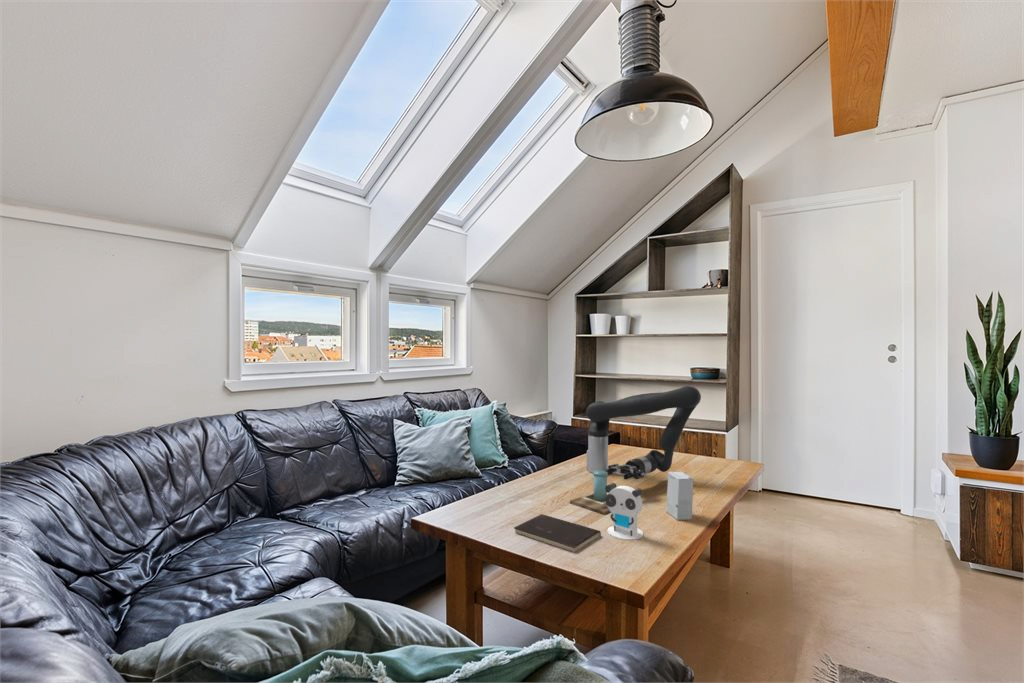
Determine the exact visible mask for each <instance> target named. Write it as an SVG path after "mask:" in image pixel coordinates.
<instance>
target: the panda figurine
mask: <svg viewBox="0 0 1024 683" xmlns="http://www.w3.org/2000/svg"><path fill="white" fill-rule="evenodd" d="M605 490H606V492H607V494H608V495H607V497H606V504H607V506H608V508H609V510H610V511H611V512H610V513H611V514H610V520H611V521H613V525H611V526H609V527H608V528H607V531H606V532H607V534H608V535H609V536H611V537H613V538H615V539H619V540H623V541H633V540H639V539H641V538H642V537H644V532H643V531H642V530H641V529H640V528H638V515H639V513H641V512H642V510H643V500H642V497H641V496H642V495H643V490H642V488H639V487H638V488H637V489H635V488H634V487H631V486H627V485H618V486H617V484H616V483H615V482H611V483H609V484H607V486H606V487H605Z"/></svg>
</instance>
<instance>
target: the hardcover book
mask: <svg viewBox="0 0 1024 683" xmlns="http://www.w3.org/2000/svg"><path fill="white" fill-rule="evenodd" d="M514 529H515V531H514V533H516V534H518V535H521V534H522V536H524V535H525V536H524V537H528V538H531V539H533V538H534V540H536V541H539V540H540V541H539V542H542V541H543V543H545V544H549V545H552V546H554V547H557V548H560V549H563V550H566V551H569V552H572V553H575V552H577V551H579V550H580V549H581V548H583V547H584V546H586V545H588V544H590V542H591V543H592V541H594V540H595V539H596V538H599V537H600V536H601V535H602V534H601V530H598V529H595V528H591V527H588V526H584V525H581V524H577V523H574V522H571V521H568V520H564V519H560V518H557V517H554V516H553V517H552V516H550V515H546V514H543V513H541V514H539V515H537V516H535V517H533V518H531V519H529V520H526V521H524V522H523V523H520V524H518V525H515V526H514V527H513V530H514Z"/></svg>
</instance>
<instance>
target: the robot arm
mask: <svg viewBox="0 0 1024 683" xmlns="http://www.w3.org/2000/svg"><path fill="white" fill-rule="evenodd" d="M701 399H702V395H701V392H700V390H698V389H697V388H696V387H694V386H691V385H688V386H687V385H685V386H682V387H680V388H675V389H673V390H672V389H671V390H669V391H664V392H649V393H641V394H634V395H632V396H631V395H630V396H627V397H624V398H621V399H619V400H615V401H608V402H604V401H602V400H597V401H594V402H592V403H590V404H589V405H588V406H587V408H586V410H585V414H586V417H587V419H588V420H590V423H589V424H590V425H589V428H588V433H587V435H588V441H587V442H588V446H587V448H588V449H587V450H586V471H588V472H589V473H592V474H593V472H594V471H597V470H600V471H606V472H608V476H609V475H612V474H613V475H614V474H616V475H623V479H624V480H629V479H635V480H639V479H641V478H644V477H645V476H646V475H647V474H650V473H653V472H654V471H655V472H656V470H658V471H660V472H662V473H665V472H669V470H670V469H671V466H672V464H673V456H674V451H675V448H676V446H677V444H678V441H679V439H680V437H681V435H682V433H683V431H684V428H685V425H686V423H687V422H688V419H689V418H690V416H691V414H692V413H693V411H694V410H695V408H696V407H697V406H698V404H700V402H701ZM667 409H668V410H669V409H675V411H674V413H673V415H672V416H671V419H670V420H669V421H668V423H667V425H666V426H665V428H664V430H663V432H662V435H661V436H660V439H659V441H658V446H659V447H660V448H661V449H662V450H663V452H664V453H663V452H661V451H659V450H656V449H651V450H650V451H649V453H647V454H646V455H645V456H642V457H641V456H640V457H636V458H633V459H629V460H627V461H626V463H625V464H622V465H621V464H620V465H619V463H614V464H611V465H609V430H610V420H611V419H613V418H614V419H615V418H623V417H627V418H628V417H634V416H635V417H636V416H643V415H649V414H654V413H657V412H660V411H664V410H667Z"/></svg>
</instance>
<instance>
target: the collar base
mask: <svg viewBox="0 0 1024 683" xmlns="http://www.w3.org/2000/svg"><path fill="white" fill-rule="evenodd" d="M607 495H608V493H607ZM569 504H571V505H575V506H577V507H580V508H583V509H586V510H589V511H592V512H595V513H597V514H601V515H606V514H610V513H611V511H610V510H609V508H608V506H607V504H606V501H604V502H602V503H601V502H598V501H595V500H593V492H591V493H588V494H586V495H583V496H580V497H577V498H574V499H571V500H569Z"/></svg>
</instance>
